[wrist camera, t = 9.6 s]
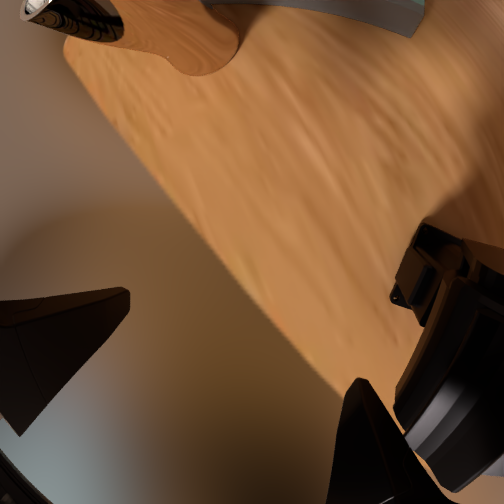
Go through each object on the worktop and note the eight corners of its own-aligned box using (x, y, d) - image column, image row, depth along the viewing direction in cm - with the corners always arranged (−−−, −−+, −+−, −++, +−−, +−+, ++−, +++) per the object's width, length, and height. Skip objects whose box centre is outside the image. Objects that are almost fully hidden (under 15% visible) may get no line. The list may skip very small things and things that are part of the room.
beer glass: (176, 18, 16) (52, -51, 2) (252, 11, 15) (151, -109, 1) (160, 83, 19) (2, 45, 5) (238, 82, 17) (84, -17, 3)
